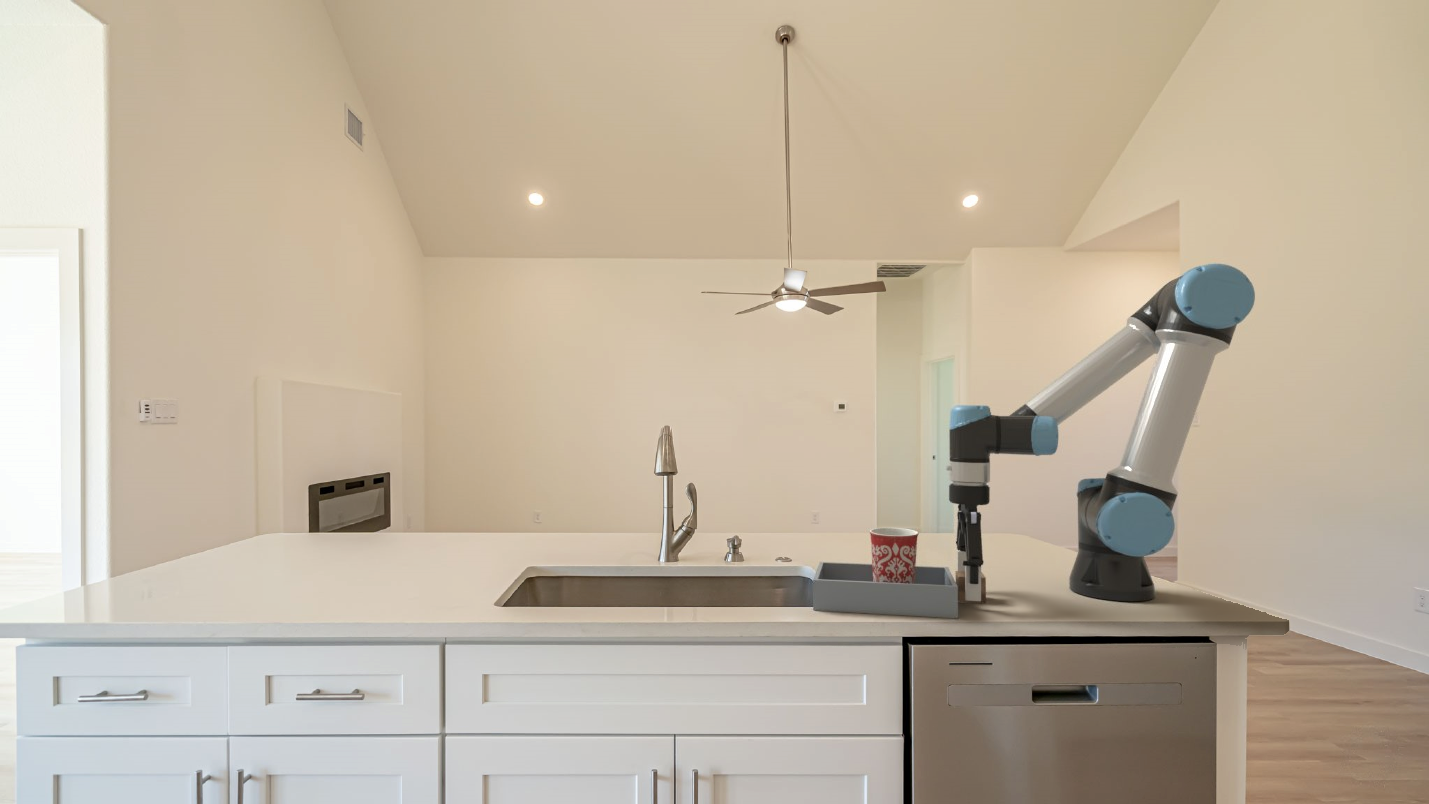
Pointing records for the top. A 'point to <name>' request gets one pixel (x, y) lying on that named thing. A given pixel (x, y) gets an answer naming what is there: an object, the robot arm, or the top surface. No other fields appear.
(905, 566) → the mug
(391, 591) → the top surface
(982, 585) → the cube
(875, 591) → the tote
